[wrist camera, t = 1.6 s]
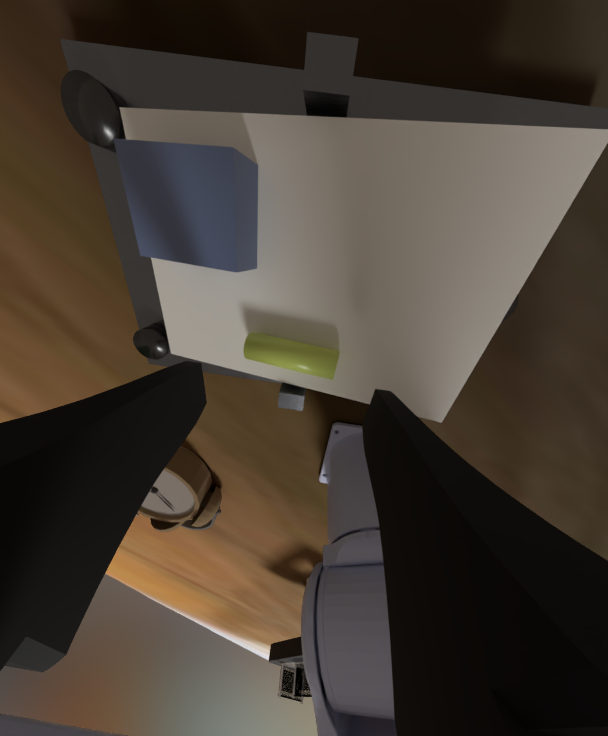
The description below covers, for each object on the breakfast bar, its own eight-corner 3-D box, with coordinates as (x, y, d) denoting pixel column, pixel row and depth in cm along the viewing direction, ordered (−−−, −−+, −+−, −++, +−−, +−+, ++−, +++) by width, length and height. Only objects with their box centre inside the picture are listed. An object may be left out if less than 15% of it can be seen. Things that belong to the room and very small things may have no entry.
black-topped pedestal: (319, 533, 34) (315, 681, 23) (412, 591, 42) (444, 722, 31) (219, 570, 46) (184, 681, 34) (308, 610, 54) (303, 711, 42)
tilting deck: (587, 142, 7) (699, 89, 5) (437, 411, 14) (452, 449, 11) (139, 118, 10) (65, 77, 8) (181, 348, 17) (146, 366, 14)
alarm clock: (154, 445, 22) (227, 545, 26) (186, 418, 27) (244, 507, 31) (84, 468, 25) (159, 554, 29) (123, 440, 30) (184, 518, 34)
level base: (584, 125, 11) (781, 38, 6) (438, 396, 20) (473, 447, 15) (90, 61, 11) (-80, -66, 7) (160, 355, 20) (108, 391, 15)
